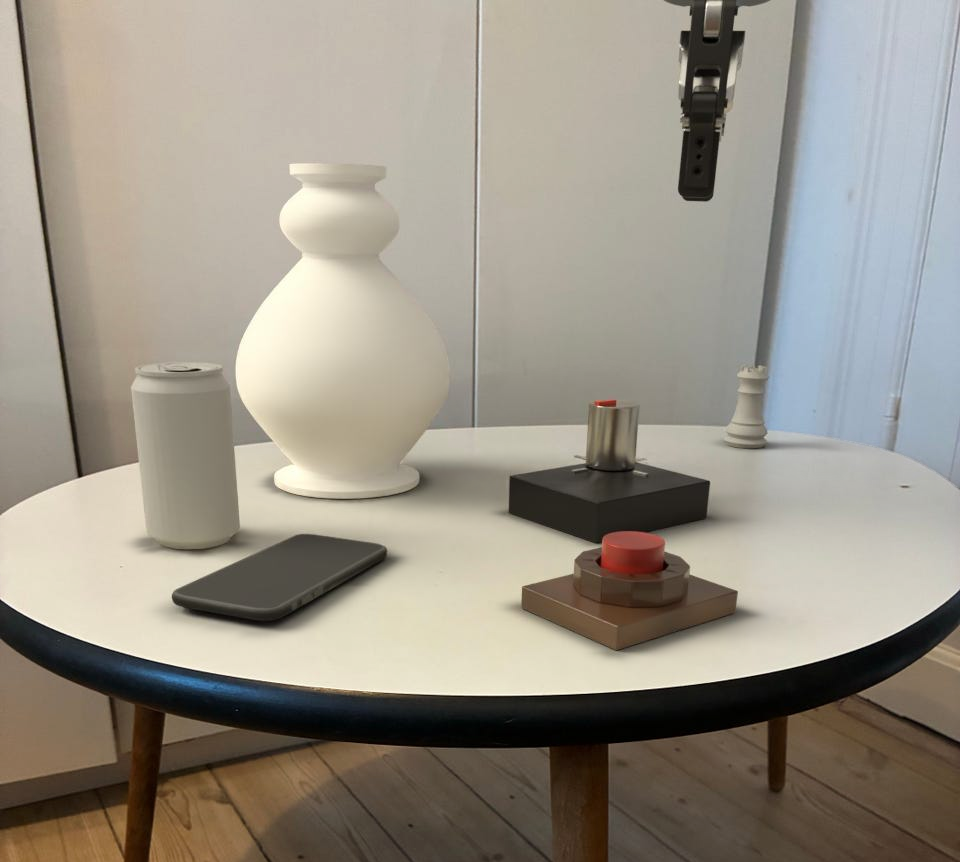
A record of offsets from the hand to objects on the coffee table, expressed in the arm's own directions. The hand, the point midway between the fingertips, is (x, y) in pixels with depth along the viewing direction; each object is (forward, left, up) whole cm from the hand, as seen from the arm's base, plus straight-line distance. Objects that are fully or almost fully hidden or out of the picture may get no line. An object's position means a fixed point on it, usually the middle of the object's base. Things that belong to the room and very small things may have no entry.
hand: (695, 199), depth 68 cm
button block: (+15, +10, -23) cm, 29 cm away
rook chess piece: (-31, -18, -23) cm, 43 cm away
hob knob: (-2, -9, -20) cm, 22 cm away
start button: (+15, +10, -20) cm, 27 cm away
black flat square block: (0, -7, -23) cm, 24 cm away
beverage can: (+30, -18, -23) cm, 41 cm away
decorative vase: (+12, -27, -23) cm, 37 cm away
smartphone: (+29, -6, -23) cm, 37 cm away
